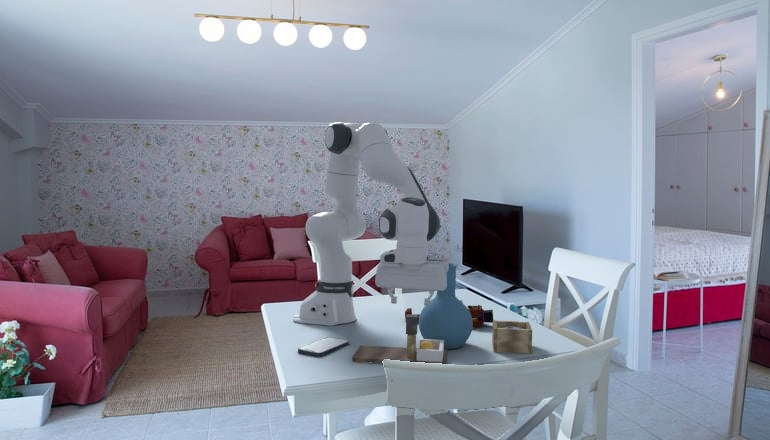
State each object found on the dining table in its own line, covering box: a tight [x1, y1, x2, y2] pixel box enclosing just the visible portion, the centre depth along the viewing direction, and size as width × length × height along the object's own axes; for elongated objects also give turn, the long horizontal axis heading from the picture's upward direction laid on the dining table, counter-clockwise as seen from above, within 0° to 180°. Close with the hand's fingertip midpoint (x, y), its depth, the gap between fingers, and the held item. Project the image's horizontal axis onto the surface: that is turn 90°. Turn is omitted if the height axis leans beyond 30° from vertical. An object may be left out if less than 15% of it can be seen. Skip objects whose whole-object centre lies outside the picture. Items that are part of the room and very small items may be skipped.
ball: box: [419, 341, 434, 350], centre depth 165 cm, size 4×4×4 cm
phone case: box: [297, 337, 350, 358], centre depth 175 cm, size 9×2×16 cm
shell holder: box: [491, 319, 533, 355], centre depth 177 cm, size 11×10×7 cm
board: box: [351, 345, 448, 365], centre depth 167 cm, size 26×12×1 cm, turn 82°
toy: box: [404, 299, 494, 329], centre depth 205 cm, size 26×7×30 cm
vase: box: [418, 262, 473, 350], centre depth 179 cm, size 16×16×25 cm
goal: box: [417, 338, 445, 362], centre depth 165 cm, size 7×11×3 cm, turn 172°
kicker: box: [405, 314, 419, 357], centre depth 166 cm, size 3×6×11 cm, turn 172°
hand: (410, 304), depth 165 cm, fingers open, 8 cm apart
